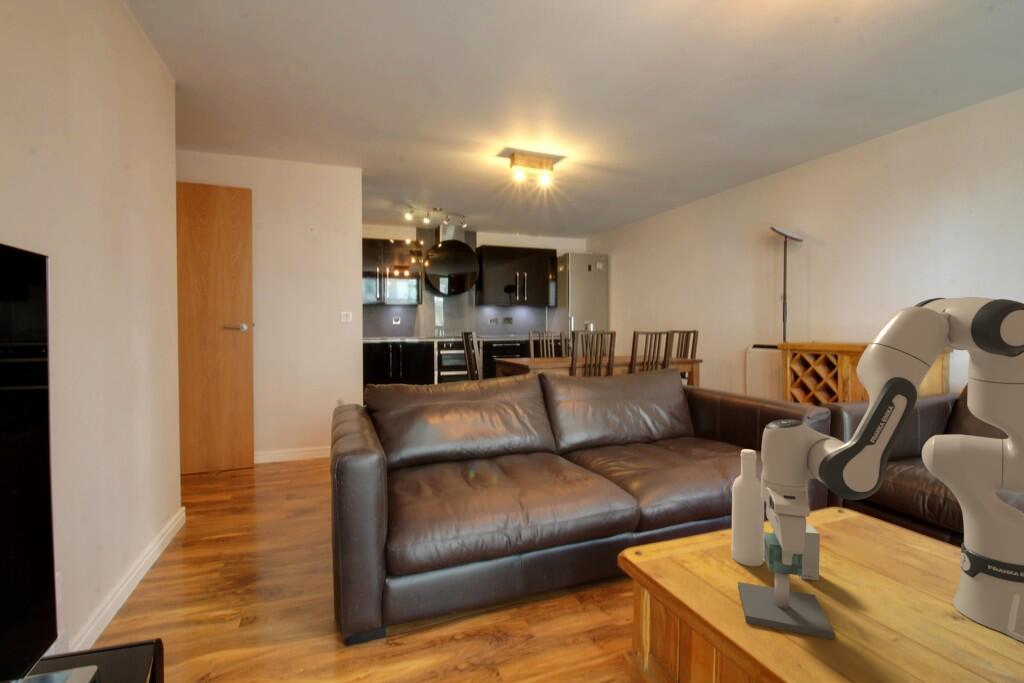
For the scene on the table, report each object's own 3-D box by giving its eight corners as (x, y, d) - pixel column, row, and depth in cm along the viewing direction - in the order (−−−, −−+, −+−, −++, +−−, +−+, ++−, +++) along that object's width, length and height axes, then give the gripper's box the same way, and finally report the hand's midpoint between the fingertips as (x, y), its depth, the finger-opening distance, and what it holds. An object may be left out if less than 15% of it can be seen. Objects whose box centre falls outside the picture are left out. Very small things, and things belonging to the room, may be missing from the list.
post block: (814, 601, 106) (815, 562, 106) (833, 639, 93) (834, 596, 92) (738, 587, 111) (738, 551, 111) (745, 622, 98) (746, 581, 98)
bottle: (724, 556, 127) (726, 448, 126) (743, 550, 130) (745, 445, 129) (751, 569, 120) (752, 456, 119) (770, 562, 123) (772, 452, 122)
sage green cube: (795, 562, 103) (795, 536, 103) (801, 576, 98) (802, 548, 98) (764, 557, 106) (764, 532, 105) (769, 570, 100) (769, 543, 100)
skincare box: (819, 581, 114) (820, 533, 114) (800, 579, 115) (801, 532, 115) (809, 568, 120) (809, 523, 120) (791, 567, 121) (792, 522, 121)
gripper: (759, 477, 112) (758, 533, 112) (776, 508, 93) (775, 575, 93) (789, 480, 110) (788, 537, 110) (812, 512, 91) (811, 581, 91)
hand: (782, 555), depth 102 cm, fingers closed on sage green cube, 6 cm apart
